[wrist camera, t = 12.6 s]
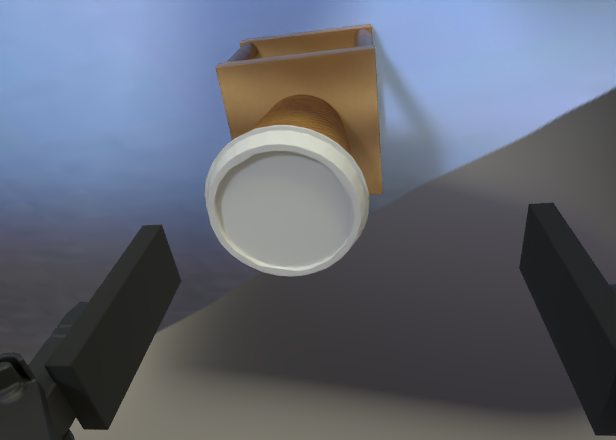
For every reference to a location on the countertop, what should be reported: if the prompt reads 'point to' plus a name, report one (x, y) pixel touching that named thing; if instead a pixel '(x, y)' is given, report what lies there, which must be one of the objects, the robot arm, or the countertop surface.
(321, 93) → the oak rack
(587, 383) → the robot arm
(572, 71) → the countertop surface
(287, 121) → the disposable coffee cup
